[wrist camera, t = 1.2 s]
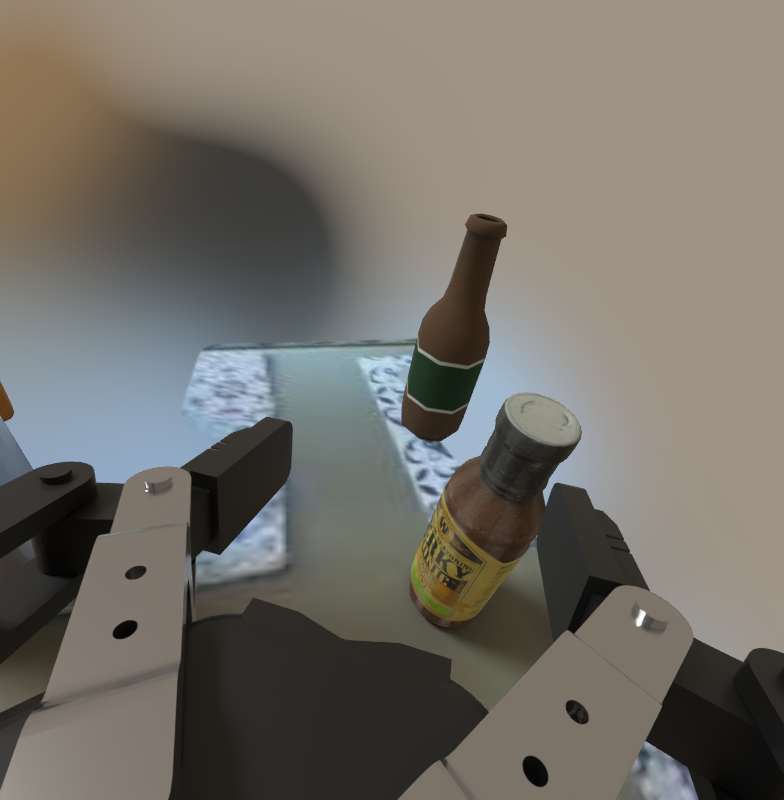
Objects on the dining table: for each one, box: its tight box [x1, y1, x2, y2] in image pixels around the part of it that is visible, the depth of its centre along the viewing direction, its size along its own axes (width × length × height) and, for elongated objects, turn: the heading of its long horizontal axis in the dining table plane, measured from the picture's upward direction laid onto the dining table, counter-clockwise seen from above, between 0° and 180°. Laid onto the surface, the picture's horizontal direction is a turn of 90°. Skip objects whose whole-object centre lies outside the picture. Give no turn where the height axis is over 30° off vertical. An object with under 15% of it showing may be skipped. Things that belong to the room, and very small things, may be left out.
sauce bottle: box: [410, 393, 582, 628], centre depth 26 cm, size 6×6×20 cm
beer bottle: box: [401, 214, 507, 441], centre depth 41 cm, size 8×8×24 cm
